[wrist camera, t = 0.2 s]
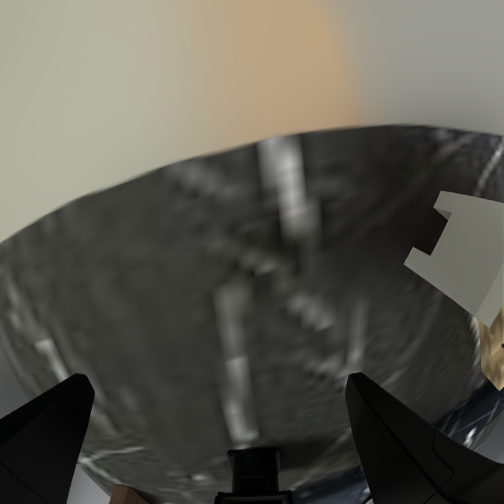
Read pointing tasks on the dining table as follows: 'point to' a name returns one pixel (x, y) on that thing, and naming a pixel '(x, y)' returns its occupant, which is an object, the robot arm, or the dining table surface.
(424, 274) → the grey tapered block
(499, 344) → the notched base plate
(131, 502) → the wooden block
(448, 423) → the dining table surface
